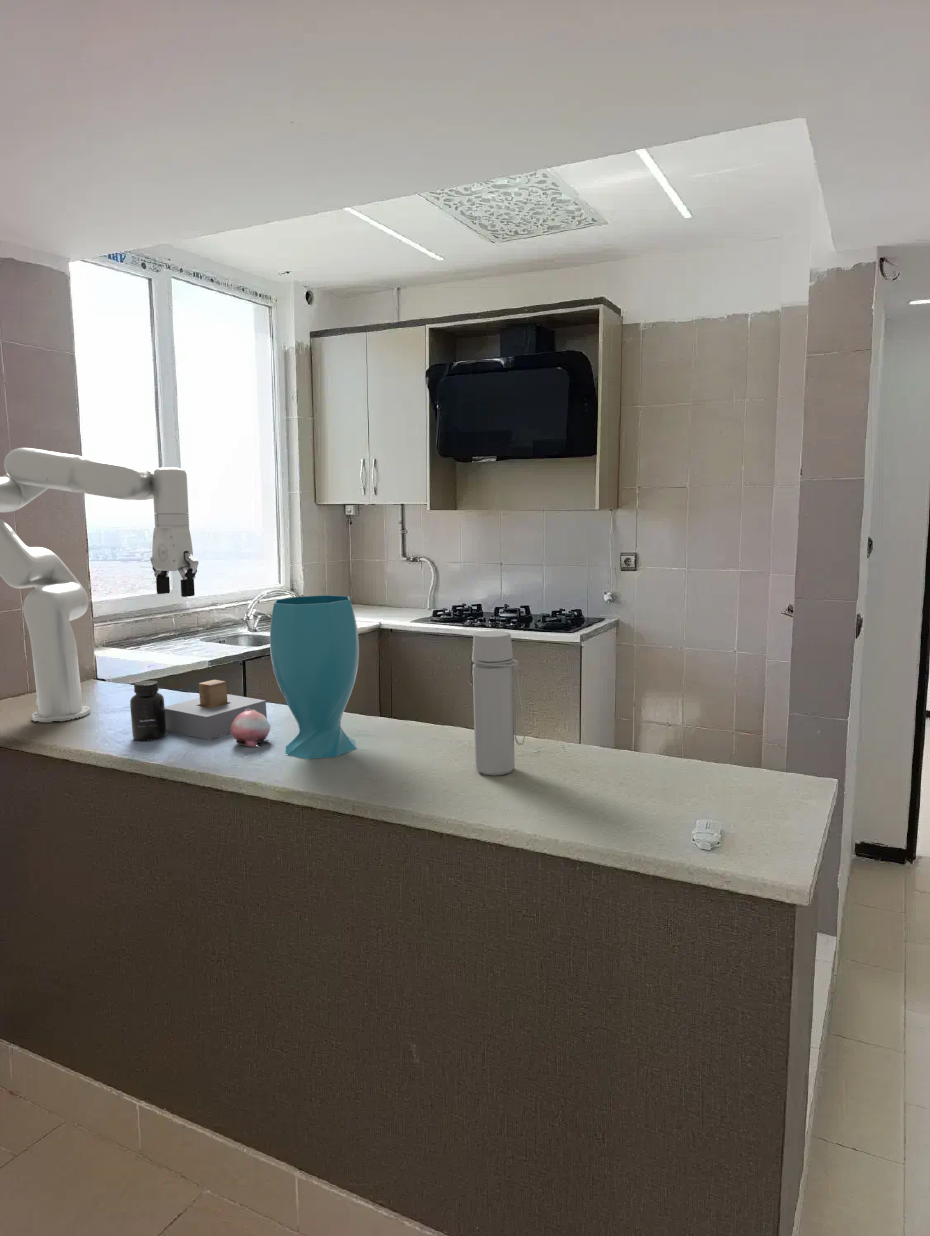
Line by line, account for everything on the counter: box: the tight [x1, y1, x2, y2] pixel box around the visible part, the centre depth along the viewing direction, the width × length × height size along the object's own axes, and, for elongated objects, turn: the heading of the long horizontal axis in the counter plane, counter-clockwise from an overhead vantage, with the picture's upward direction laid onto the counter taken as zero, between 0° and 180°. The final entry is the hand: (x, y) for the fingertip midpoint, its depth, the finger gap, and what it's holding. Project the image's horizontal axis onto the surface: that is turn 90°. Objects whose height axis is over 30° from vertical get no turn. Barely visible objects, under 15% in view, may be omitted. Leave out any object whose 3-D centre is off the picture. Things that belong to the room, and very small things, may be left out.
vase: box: [269, 594, 360, 760], centre depth 160 cm, size 17×17×30 cm
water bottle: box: [471, 630, 526, 777], centre depth 143 cm, size 9×8×25 cm
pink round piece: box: [230, 709, 271, 748], centre depth 166 cm, size 8×8×7 cm
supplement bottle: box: [129, 680, 167, 742], centre depth 173 cm, size 7×7×12 cm
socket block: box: [165, 693, 268, 741], centre depth 181 cm, size 16×16×5 cm
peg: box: [198, 679, 228, 708], centre depth 180 cm, size 4×4×10 cm
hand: (175, 594), depth 189 cm, fingers open, 9 cm apart
